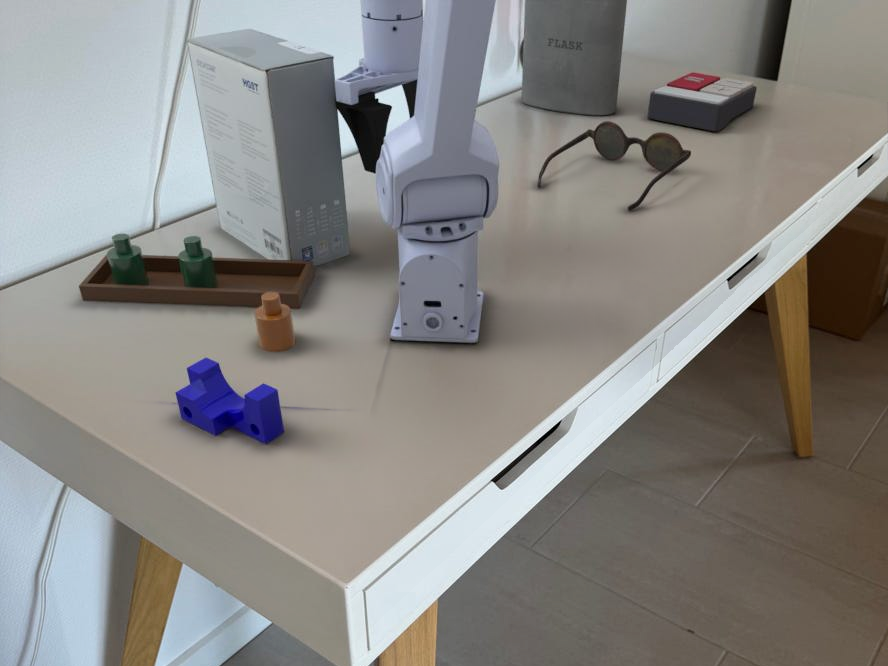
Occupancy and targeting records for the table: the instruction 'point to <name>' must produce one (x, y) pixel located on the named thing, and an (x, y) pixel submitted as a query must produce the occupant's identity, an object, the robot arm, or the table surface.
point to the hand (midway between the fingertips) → (399, 160)
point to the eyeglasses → (614, 144)
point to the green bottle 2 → (197, 264)
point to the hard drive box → (272, 144)
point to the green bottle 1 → (127, 262)
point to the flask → (573, 55)
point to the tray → (235, 288)
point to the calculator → (701, 101)
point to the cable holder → (228, 404)
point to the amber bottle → (274, 324)
